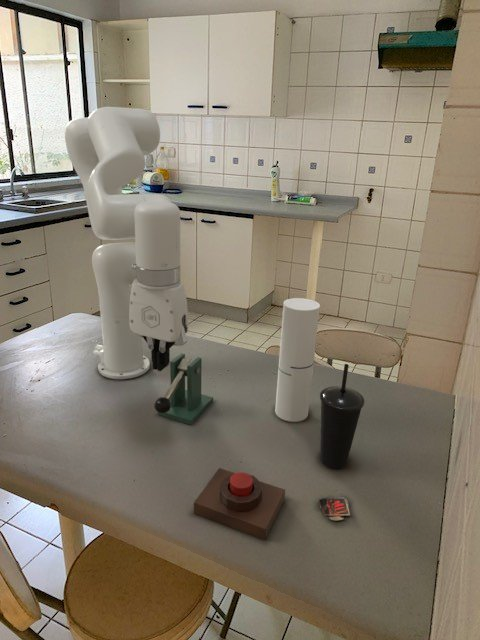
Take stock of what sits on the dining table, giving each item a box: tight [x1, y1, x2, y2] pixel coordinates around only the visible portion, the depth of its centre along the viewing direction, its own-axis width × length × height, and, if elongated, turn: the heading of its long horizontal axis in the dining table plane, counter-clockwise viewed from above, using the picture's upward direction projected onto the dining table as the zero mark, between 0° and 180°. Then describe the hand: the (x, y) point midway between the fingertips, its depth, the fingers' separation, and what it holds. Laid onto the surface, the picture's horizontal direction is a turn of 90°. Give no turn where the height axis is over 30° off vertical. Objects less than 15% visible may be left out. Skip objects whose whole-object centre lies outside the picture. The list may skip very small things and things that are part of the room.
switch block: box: [193, 467, 286, 541], centre depth 74 cm, size 12×9×4 cm
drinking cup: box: [319, 363, 366, 470], centre depth 82 cm, size 8×8×20 cm
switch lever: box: [153, 357, 194, 414], centre depth 93 cm, size 13×3×3 cm, turn 156°
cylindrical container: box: [274, 297, 321, 423], centre depth 96 cm, size 7×7×25 cm
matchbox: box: [318, 497, 351, 522], centre depth 74 cm, size 5×5×1 cm
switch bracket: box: [157, 352, 214, 426], centre depth 98 cm, size 10×8×12 cm
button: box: [230, 472, 253, 497], centre depth 73 cm, size 4×4×2 cm
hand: (160, 367), depth 88 cm, fingers closed
